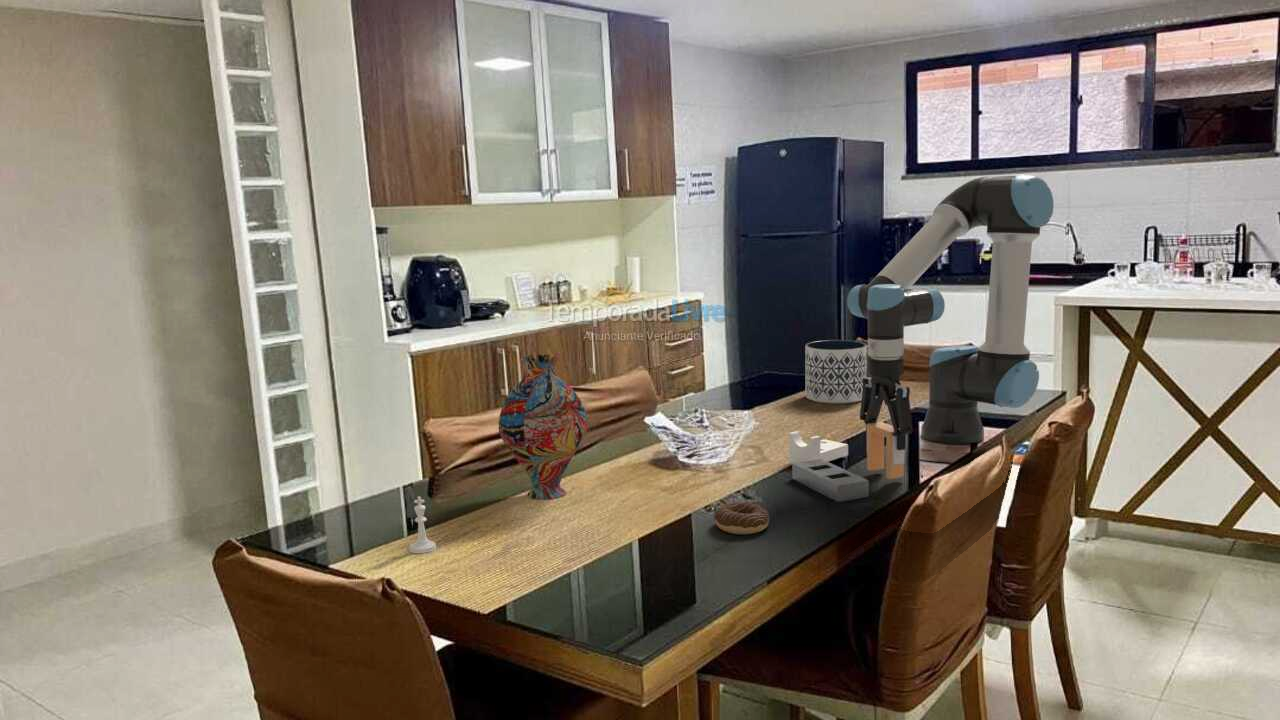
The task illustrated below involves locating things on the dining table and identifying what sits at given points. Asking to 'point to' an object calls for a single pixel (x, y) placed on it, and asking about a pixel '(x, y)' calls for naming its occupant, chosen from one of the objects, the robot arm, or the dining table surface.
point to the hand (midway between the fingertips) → (885, 458)
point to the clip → (881, 450)
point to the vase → (543, 425)
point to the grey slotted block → (830, 480)
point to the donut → (741, 518)
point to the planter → (835, 371)
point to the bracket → (814, 449)
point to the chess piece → (421, 532)
